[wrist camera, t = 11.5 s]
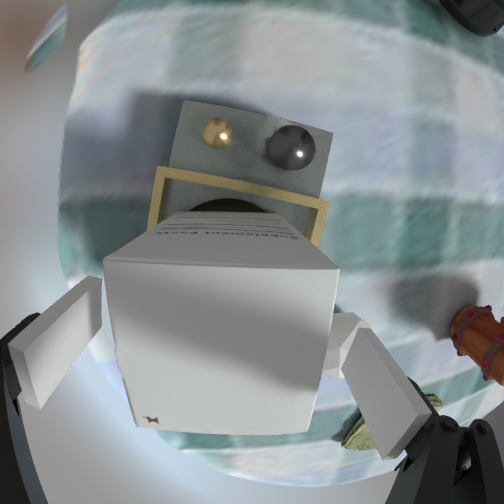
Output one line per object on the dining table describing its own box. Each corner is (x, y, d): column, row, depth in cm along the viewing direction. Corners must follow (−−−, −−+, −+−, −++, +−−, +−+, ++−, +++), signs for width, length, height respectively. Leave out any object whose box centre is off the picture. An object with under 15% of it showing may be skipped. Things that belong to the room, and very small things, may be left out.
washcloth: (371, 391, 39) (378, 404, 36) (441, 392, 41) (449, 402, 38) (335, 442, 42) (339, 455, 39) (405, 438, 44) (411, 449, 41)
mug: (436, 350, 37) (490, 406, 23) (446, 305, 35) (512, 355, 21) (492, 329, 38) (542, 368, 23) (501, 288, 36) (560, 323, 21)
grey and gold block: (187, 105, 27) (172, 83, 19) (323, 135, 29) (351, 124, 21) (154, 297, 32) (133, 332, 25) (277, 321, 34) (288, 360, 26)
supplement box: (275, 310, 27) (311, 437, 12) (177, 307, 26) (132, 431, 12) (283, 211, 24) (349, 266, 10) (175, 207, 24) (95, 257, 9)
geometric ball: (339, 310, 37) (392, 325, 31) (318, 366, 36) (369, 387, 30) (308, 297, 32) (370, 315, 26) (284, 364, 31) (342, 391, 25)
